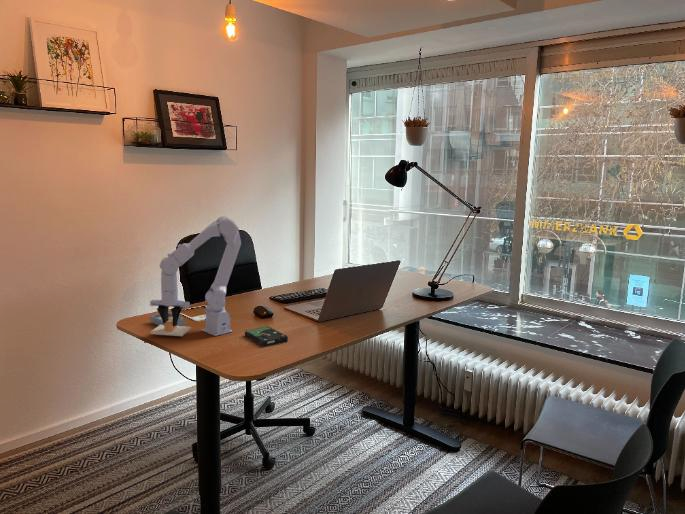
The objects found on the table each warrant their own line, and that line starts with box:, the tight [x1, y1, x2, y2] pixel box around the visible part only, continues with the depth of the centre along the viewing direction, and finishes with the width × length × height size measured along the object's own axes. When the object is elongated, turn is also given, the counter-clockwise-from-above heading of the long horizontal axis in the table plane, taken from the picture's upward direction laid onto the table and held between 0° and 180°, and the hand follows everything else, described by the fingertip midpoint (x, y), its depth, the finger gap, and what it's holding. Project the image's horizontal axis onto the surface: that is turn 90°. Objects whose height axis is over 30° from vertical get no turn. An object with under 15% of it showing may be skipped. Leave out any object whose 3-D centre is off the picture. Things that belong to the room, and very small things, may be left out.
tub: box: [149, 311, 185, 327], centre depth 213 cm, size 12×8×3 cm, turn 48°
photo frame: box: [180, 305, 207, 322], centre depth 229 cm, size 15×1×18 cm
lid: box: [149, 320, 192, 337], centre depth 200 cm, size 12×8×4 cm
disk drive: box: [244, 325, 289, 348], centre depth 199 cm, size 10×3×15 cm
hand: (170, 325), depth 200 cm, fingers closed on lid, 3 cm apart
